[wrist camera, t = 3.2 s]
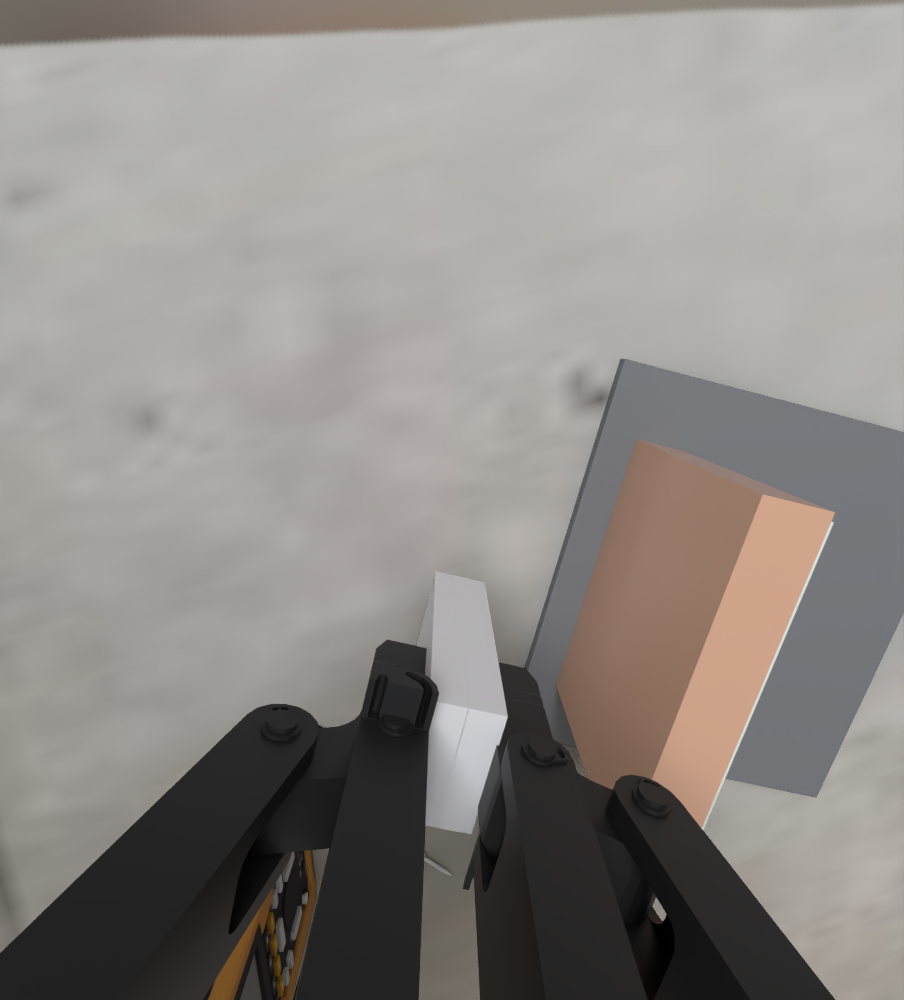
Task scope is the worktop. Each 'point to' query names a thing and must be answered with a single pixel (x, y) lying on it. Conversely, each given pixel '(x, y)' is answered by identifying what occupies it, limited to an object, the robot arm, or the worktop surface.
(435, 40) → the worktop surface
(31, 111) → the worktop surface
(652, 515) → the tile
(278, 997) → the multimeter
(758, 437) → the mat
